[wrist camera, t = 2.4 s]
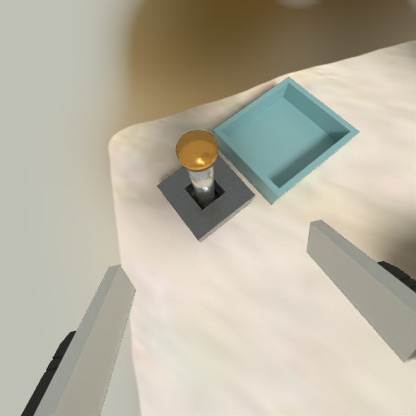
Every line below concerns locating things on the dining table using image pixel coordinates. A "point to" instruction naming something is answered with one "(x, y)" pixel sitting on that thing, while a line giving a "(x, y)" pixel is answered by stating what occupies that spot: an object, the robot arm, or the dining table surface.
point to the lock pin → (199, 162)
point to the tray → (282, 138)
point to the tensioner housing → (215, 212)
